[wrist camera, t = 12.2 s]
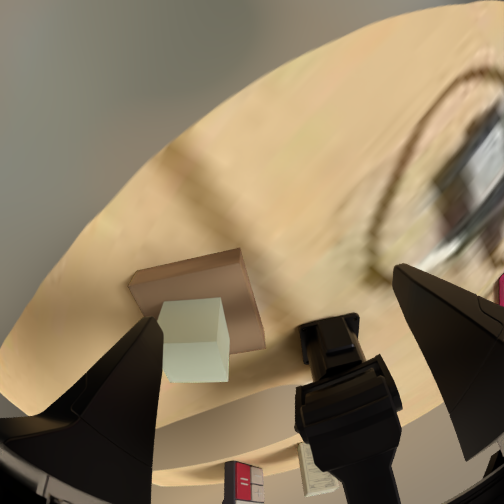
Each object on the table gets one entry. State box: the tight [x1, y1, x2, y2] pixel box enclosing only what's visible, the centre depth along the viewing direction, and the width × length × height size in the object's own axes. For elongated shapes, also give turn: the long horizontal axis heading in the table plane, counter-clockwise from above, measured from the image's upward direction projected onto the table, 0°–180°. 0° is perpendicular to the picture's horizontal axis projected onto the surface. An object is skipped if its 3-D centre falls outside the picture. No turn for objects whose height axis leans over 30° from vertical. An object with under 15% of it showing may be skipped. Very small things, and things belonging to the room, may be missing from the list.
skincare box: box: [297, 442, 339, 497], centre depth 39 cm, size 6×4×12 cm
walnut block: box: [128, 248, 266, 355], centre depth 25 cm, size 10×10×3 cm
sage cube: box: [157, 297, 230, 383], centre depth 21 cm, size 5×5×5 cm
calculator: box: [222, 461, 265, 504], centre depth 45 cm, size 11×4×15 cm, turn 38°
